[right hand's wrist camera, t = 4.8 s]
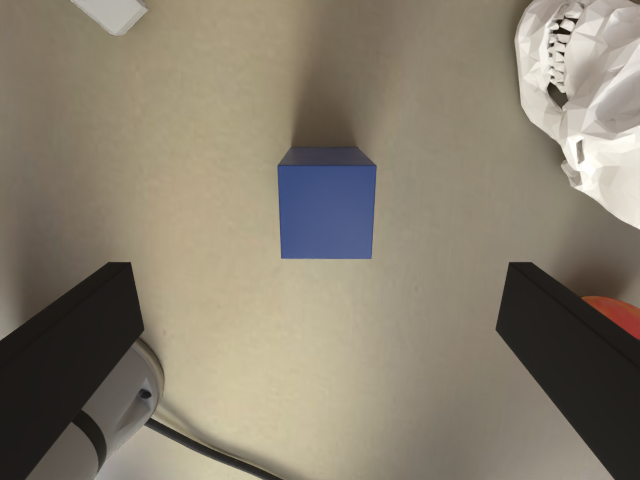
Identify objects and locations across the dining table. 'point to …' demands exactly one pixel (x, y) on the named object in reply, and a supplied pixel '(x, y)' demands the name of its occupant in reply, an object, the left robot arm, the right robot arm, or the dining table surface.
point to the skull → (587, 93)
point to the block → (326, 203)
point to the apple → (617, 313)
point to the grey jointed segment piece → (113, 13)
